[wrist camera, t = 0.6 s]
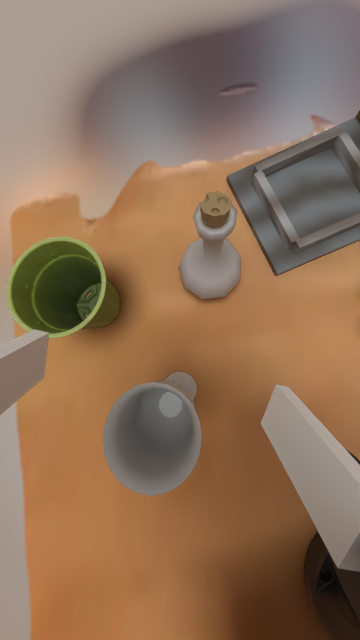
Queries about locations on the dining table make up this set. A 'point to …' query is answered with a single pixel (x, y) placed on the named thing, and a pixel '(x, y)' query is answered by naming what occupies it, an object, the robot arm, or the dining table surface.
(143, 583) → the dining table surface
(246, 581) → the dining table surface
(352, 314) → the dining table surface
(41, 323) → the plant pot
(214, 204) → the potion bottle
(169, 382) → the chalice
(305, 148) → the ledge nook
